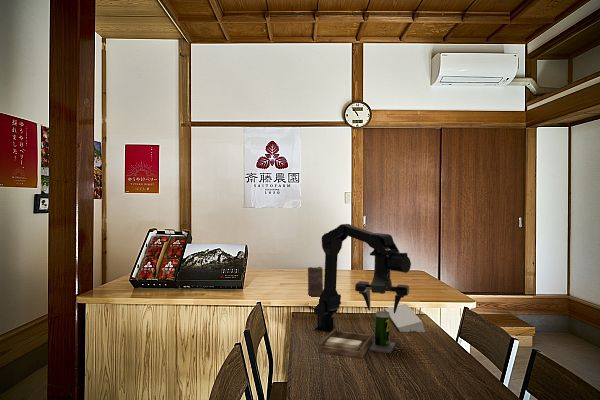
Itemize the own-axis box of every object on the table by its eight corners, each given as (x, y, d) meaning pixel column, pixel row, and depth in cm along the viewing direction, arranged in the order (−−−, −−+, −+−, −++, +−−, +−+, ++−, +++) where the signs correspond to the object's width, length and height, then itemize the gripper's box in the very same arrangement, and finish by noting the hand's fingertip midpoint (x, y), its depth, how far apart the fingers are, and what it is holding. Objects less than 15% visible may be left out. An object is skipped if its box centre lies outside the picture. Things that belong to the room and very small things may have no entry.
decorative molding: (401, 339, 181) (425, 332, 180) (398, 327, 180) (422, 321, 180) (385, 315, 215) (405, 310, 215) (382, 306, 215) (403, 300, 214)
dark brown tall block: (305, 308, 215) (305, 267, 215) (310, 305, 222) (310, 265, 222) (320, 310, 212) (321, 268, 212) (325, 306, 219) (325, 266, 219)
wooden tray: (318, 352, 157) (318, 343, 157) (335, 335, 175) (335, 328, 175) (362, 358, 151) (362, 349, 151) (374, 340, 169) (374, 332, 169)
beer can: (373, 347, 161) (373, 313, 160) (376, 342, 166) (376, 310, 165) (388, 349, 159) (388, 315, 158) (391, 344, 164) (391, 311, 163)
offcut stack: (324, 350, 158) (324, 340, 158) (329, 346, 163) (329, 336, 163) (359, 356, 153) (359, 345, 153) (363, 350, 158) (363, 340, 158)
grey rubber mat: (369, 350, 159) (369, 348, 159) (375, 341, 168) (375, 340, 168) (390, 353, 156) (390, 351, 156) (395, 344, 165) (395, 342, 165)
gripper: (351, 270, 158) (350, 314, 158) (405, 274, 151) (404, 320, 152) (359, 265, 169) (358, 307, 169) (409, 269, 162) (409, 312, 162)
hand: (381, 311), depth 163 cm, fingers open, 9 cm apart
